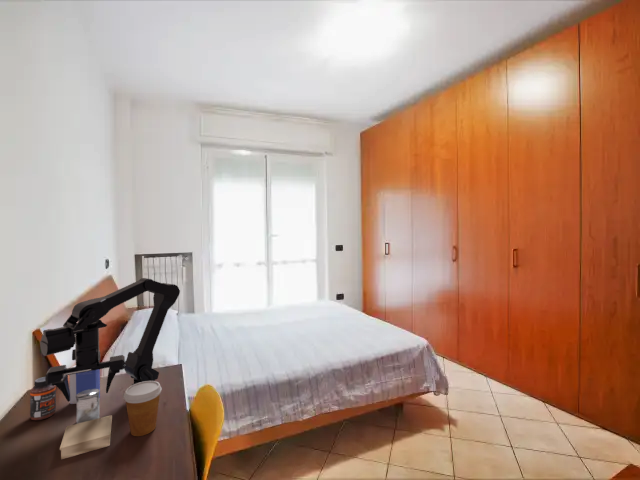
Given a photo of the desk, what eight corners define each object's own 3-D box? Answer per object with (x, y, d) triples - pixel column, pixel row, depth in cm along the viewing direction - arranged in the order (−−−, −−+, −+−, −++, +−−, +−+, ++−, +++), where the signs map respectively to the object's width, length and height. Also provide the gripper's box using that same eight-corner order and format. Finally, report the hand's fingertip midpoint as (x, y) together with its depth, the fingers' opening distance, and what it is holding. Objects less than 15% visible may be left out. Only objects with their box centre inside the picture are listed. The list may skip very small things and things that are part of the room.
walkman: (100, 397, 108) (99, 362, 108) (95, 402, 105) (95, 366, 105) (74, 399, 107) (73, 364, 107) (69, 404, 104) (68, 367, 104)
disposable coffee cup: (115, 435, 88) (115, 392, 88) (145, 416, 97) (145, 377, 97) (140, 443, 84) (140, 399, 84) (169, 423, 93) (169, 383, 93)
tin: (100, 412, 99) (100, 387, 99) (99, 422, 94) (98, 395, 94) (77, 418, 96) (77, 391, 96) (75, 428, 91) (74, 400, 91)
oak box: (112, 425, 93) (112, 415, 92) (110, 445, 84) (110, 434, 84) (66, 437, 87) (66, 426, 87) (60, 460, 78) (59, 448, 78)
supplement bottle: (40, 422, 94) (40, 384, 94) (24, 420, 95) (24, 382, 95) (61, 411, 100) (60, 375, 100) (45, 409, 101) (45, 374, 101)
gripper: (124, 332, 106) (125, 378, 107) (52, 342, 97) (53, 393, 97) (124, 342, 97) (125, 392, 97) (44, 354, 87) (45, 410, 88)
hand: (88, 396), depth 95 cm, fingers open, 9 cm apart
